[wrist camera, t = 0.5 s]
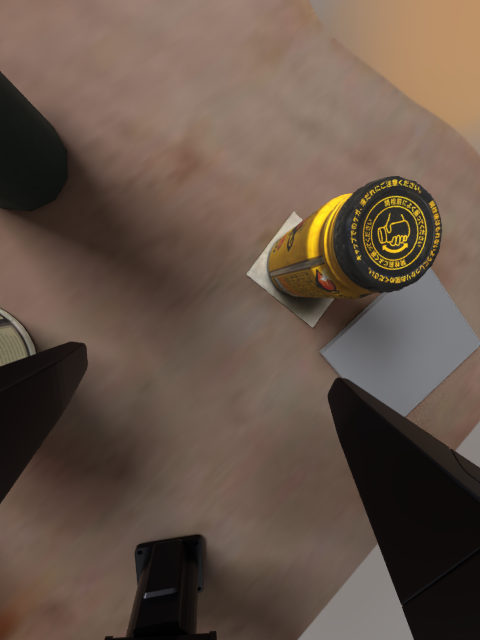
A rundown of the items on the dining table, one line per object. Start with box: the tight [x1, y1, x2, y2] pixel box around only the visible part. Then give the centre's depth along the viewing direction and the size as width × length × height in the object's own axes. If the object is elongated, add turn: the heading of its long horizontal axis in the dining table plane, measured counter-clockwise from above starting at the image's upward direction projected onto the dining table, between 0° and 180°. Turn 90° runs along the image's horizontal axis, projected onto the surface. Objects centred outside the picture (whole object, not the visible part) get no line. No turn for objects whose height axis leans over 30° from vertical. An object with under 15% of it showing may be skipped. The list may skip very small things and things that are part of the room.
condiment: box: [247, 176, 442, 328], centre depth 17 cm, size 7×8×12 cm
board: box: [319, 267, 480, 417], centre depth 24 cm, size 14×12×1 cm
